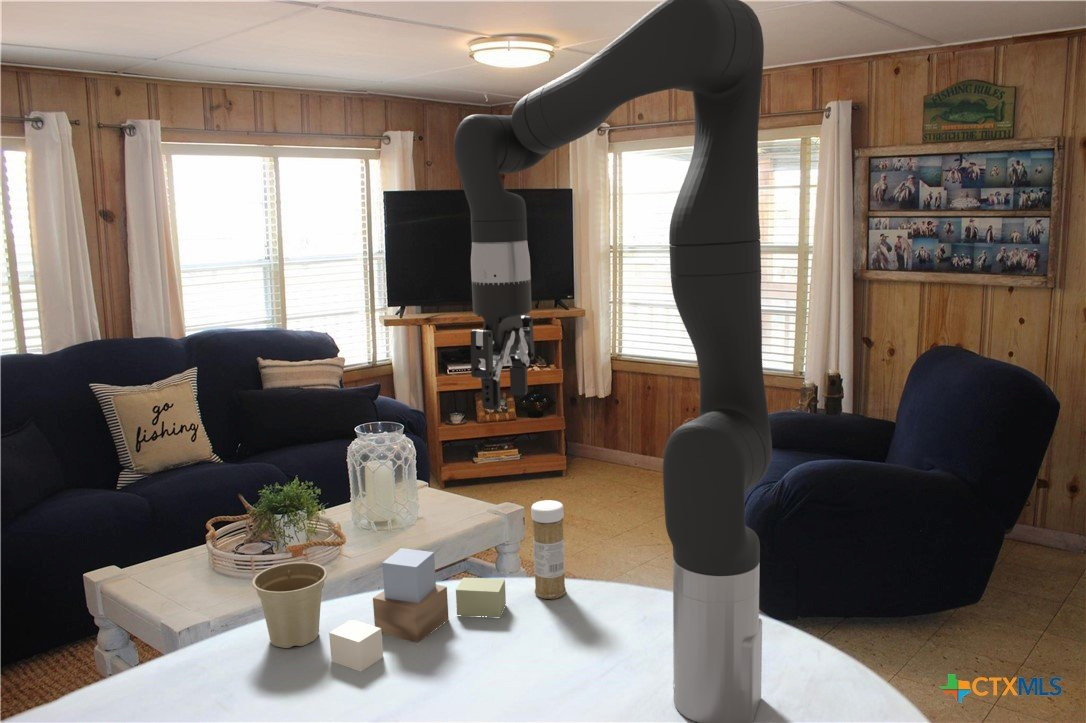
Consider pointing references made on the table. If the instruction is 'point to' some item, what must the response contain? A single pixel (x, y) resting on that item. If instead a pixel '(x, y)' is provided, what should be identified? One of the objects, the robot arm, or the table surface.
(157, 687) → the table surface
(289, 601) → the flower pot
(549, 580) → the sprinkles bottle
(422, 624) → the walnut block
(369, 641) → the cream block
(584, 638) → the table surface
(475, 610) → the olive block
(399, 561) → the slate block
